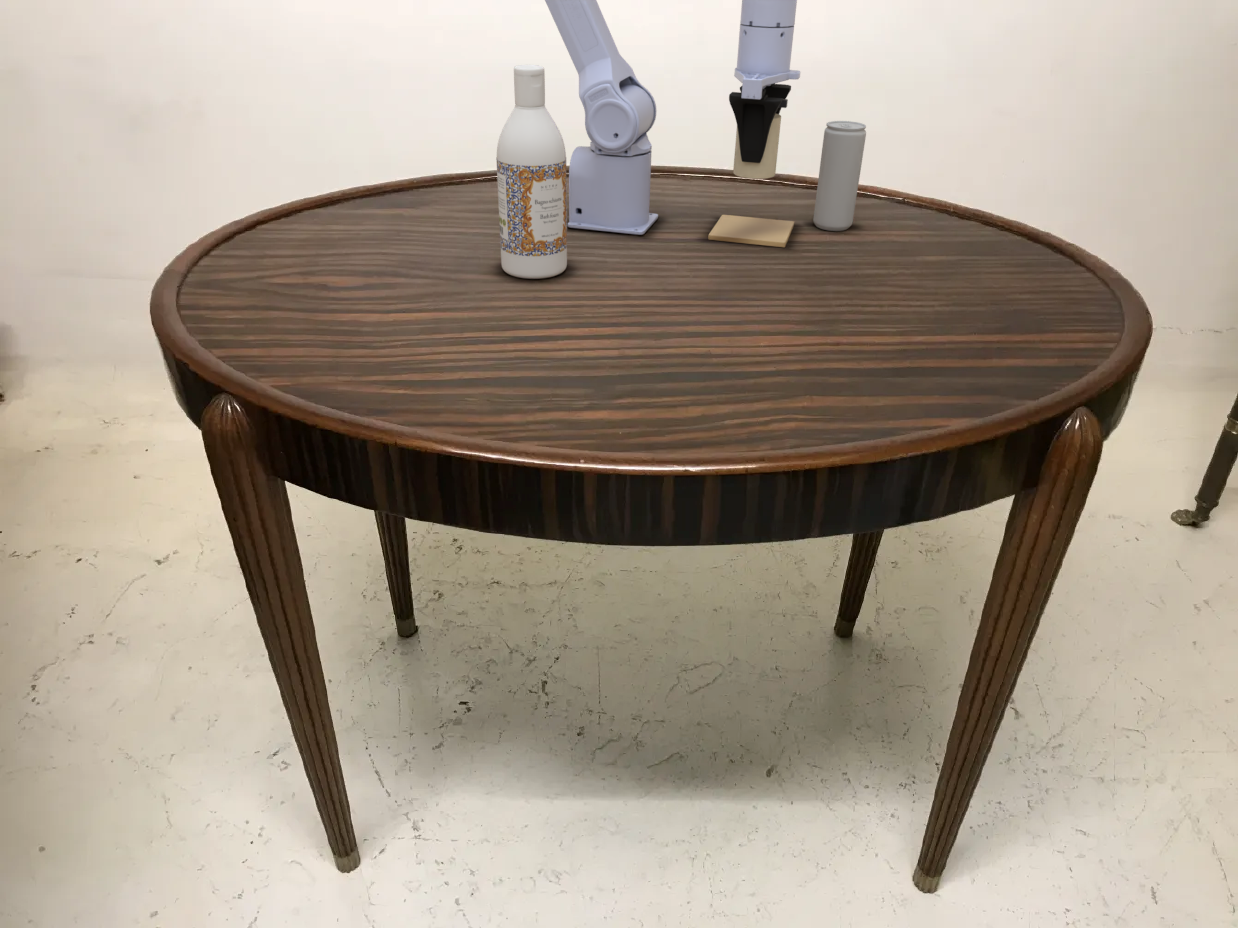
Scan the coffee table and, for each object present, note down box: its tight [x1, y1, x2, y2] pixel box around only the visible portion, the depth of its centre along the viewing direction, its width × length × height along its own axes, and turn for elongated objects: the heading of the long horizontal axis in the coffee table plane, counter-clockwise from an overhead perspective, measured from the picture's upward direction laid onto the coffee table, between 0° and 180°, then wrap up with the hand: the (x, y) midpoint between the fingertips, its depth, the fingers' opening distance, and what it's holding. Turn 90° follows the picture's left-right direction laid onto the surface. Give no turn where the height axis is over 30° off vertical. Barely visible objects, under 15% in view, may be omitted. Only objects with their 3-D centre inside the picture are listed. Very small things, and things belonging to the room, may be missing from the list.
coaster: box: [707, 214, 795, 248], centre depth 112 cm, size 9×9×1 cm
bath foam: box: [495, 64, 568, 280], centre depth 94 cm, size 7×7×20 cm
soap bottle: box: [732, 98, 789, 180], centre depth 105 cm, size 5×5×8 cm
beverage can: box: [812, 120, 867, 232], centre depth 112 cm, size 5×5×12 cm
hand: (755, 156), depth 106 cm, fingers closed on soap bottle, 5 cm apart
